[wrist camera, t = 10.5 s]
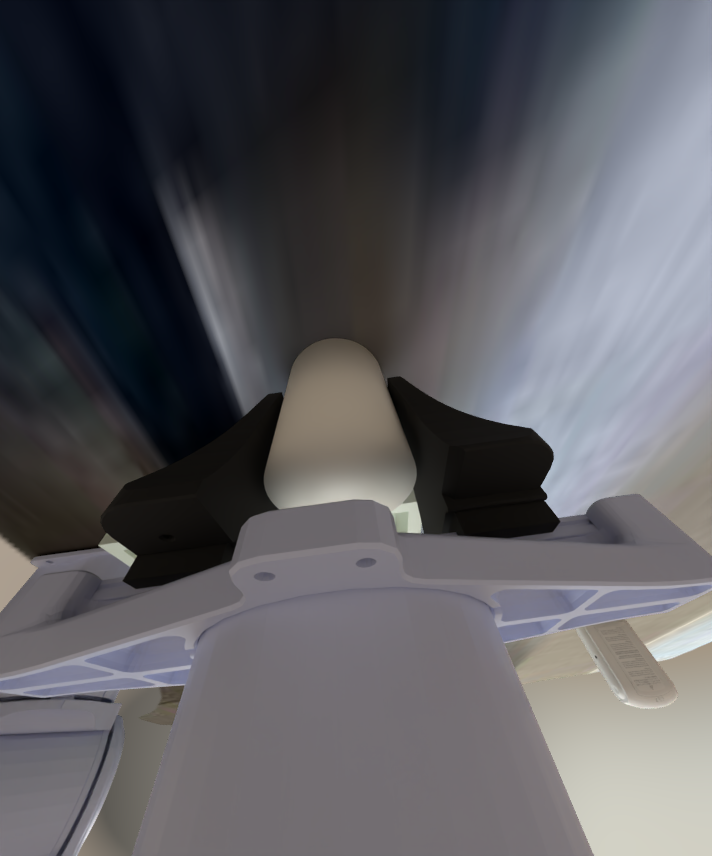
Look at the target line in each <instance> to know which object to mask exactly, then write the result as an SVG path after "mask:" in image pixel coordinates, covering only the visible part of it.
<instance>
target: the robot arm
mask: <svg viewBox="0 0 712 856" xmlns="http://www.w3.org/2000/svg"><path fill="white" fill-rule="evenodd" d="M387 380H388V390H389V393H390V396H391V399H392V401H393V404H394V407H395V409H396V412H397V415H398V418H399V420H400V423H401V426H402V428H403V431H404V434H405V436H406V439H407V442H408V445H409V447H410V450H411V453H412V455H413V458H414V461H415V464H416V469H417V477H416V482H415V485H414V488H413V490H414V494H415V497H416V501H417V505H418V509H419V513H420V518H421V522H422V526H423V530H424V534H421V533H403V532H397V530H396V525H395V521H394V517H393V515H392V513H391V511H390V509H389V507H387V506H385V505H382V504H380V503H378V502H375V501H373V500H360V499H353V500H345V501H338V502H331V503H323V504H316V505H309V506H301V507H294V508H286V509H278V508H277V507H276V506H275V505H274V504H273V503H272V501H271V500H270V498H269V497H268V495H267V493H266V490H265V486H264V473H265V468H266V464H267V461H268V457H269V453H270V449H271V445H272V441H273V438H274V434H275V430H276V426H277V422H278V418H279V415H280V411H281V407H282V403H283V399H284V398H283V395H282V392H281V393H273V394H268V395H267V396H266V397H265V398H264V399H262V400H261V401H260V402H259V403H258V404H257V405H256V406H255V407H254V408H253V409H252V410H251V411H250V412H249V413H248V414H246V415H245V416H244V417H243V418H242V419H241V420H240V421H238V422H237V423H236V424H235V425H234V426H233V427H231V428H230V429H229V430H228V431H226V432H225V433H224V434H222V435H221V436H219V437H218V438H217V439H215V440H214V441H212V442H211V443H209V444H207V445H206V446H204V447H202V448H201V449H199V450H197V451H196V452H194V453H192V454H191V455H189V456H187V457H185V458H183V459H181V460H179V461H177V462H175V463H173V464H171V465H169V466H167V467H165V468H163V469H161V470H158V471H156V472H154V473H151V474H149V475H146V476H144V477H142V478H139V479H137V480H134V481H132V482H129V483H127V484H125V485H124V487H123V488H122V489H121V491H120V492H119V493H118V495H117V496H116V497H115V498H114V500H113V501H112V502H111V504H110V505H109V506H108V508H107V509H106V510H105V512H104V513H103V514H102V515H101V525H102V527H103V529H104V530H105V532H106V533H107V534H108V535H109V536H111V537H112V538H113V539H114V540H116V541H117V542H119V543H120V544H121V545H123V546H124V547H126V548H127V549H128V550H130V551H131V552H132V553H134V554H135V555H137V557H136V558H135V560H134V562H133V564H132V565H131V567H130V566H128V565H127V564H125V563H124V562H122V561H121V560H119V559H118V558H116V557H115V556H113V555H112V554H110V553H109V552H107V551H106V550H104V549H103V548H96V549H89V550H81V551H74V552H67V553H59V554H52V555H45V556H37V557H34V558H33V560H32V561H31V564H32V565H34V566H36V567H39V568H38V569H37V570H36V571H35V573H34V574H33V575H32V576H31V577H30V578H29V580H28V581H27V582H26V583H25V584H24V585H23V587H22V588H21V589H20V590H19V591H18V592H17V594H16V595H15V596H14V597H13V598H12V600H11V601H10V602H9V603H8V604H7V606H6V607H5V608H4V609H3V610H2V611H1V612H0V856H77V855H78V853H79V851H80V848H81V846H82V844H83V842H84V841H85V839H86V837H87V836H88V834H89V832H90V830H91V828H92V826H93V824H94V822H95V820H96V818H97V816H98V814H99V812H100V810H101V807H102V805H103V803H104V801H105V799H106V796H107V793H108V791H109V789H110V786H111V784H112V781H113V778H114V776H115V773H116V770H117V767H118V764H119V760H120V757H121V753H122V749H123V744H124V738H125V730H124V727H123V719H122V717H121V716H119V715H117V714H118V712H119V710H120V707H121V705H122V704H121V703H114V701H115V699H116V697H117V695H118V692H119V690H123V689H135V688H150V687H164V686H178V685H185V687H184V690H183V693H182V697H181V700H180V703H179V706H178V709H177V713H176V716H175V719H174V722H173V725H172V729H171V732H170V735H169V738H168V742H167V745H166V748H165V751H164V754H163V758H162V760H161V764H160V767H159V770H158V773H157V776H156V780H155V783H154V786H153V790H152V793H151V796H150V799H149V802H148V805H147V808H146V812H145V815H144V819H143V821H142V824H141V828H140V831H139V834H138V837H137V840H136V844H135V847H134V850H133V853H132V856H594V855H593V853H592V850H591V848H590V846H589V843H588V841H587V839H586V836H585V834H584V831H583V830H582V827H581V825H580V822H579V819H578V817H577V815H576V812H575V810H574V808H573V805H572V803H571V800H570V798H569V796H568V793H567V791H566V789H565V786H564V784H563V782H562V779H561V777H560V774H559V772H558V770H557V767H556V765H555V763H554V760H553V758H552V755H551V753H550V751H549V749H548V746H547V744H546V741H545V739H544V737H543V734H542V732H541V729H540V727H539V725H538V723H537V720H536V718H535V715H534V713H533V711H532V708H531V706H530V703H529V701H528V699H527V696H526V694H525V692H524V689H523V687H522V684H521V682H520V680H519V677H518V675H517V673H516V670H515V668H514V666H513V663H512V661H511V658H510V656H509V654H508V651H507V649H506V647H505V644H504V643H508V642H513V641H518V640H522V639H527V638H532V637H537V636H542V635H546V634H551V633H556V632H561V631H565V630H570V629H575V628H580V627H585V626H590V625H595V624H600V623H605V622H611V621H616V620H622V619H628V618H634V617H640V616H647V615H653V614H660V613H667V612H669V611H671V610H673V609H675V608H677V607H679V606H681V605H684V604H686V603H688V602H690V601H692V600H694V599H696V598H698V597H700V596H702V595H704V594H706V593H708V592H710V591H712V556H711V555H710V554H709V553H708V552H706V551H705V550H704V549H703V548H702V547H701V546H699V545H698V544H697V543H696V542H695V541H694V540H692V539H691V538H690V537H689V536H688V535H687V534H685V533H684V532H683V531H682V530H681V529H680V528H678V527H677V526H676V525H675V524H674V523H673V522H671V521H670V520H669V519H668V518H667V517H666V516H664V515H663V514H662V513H661V512H660V511H659V510H657V509H656V508H655V507H654V506H653V505H652V504H650V503H649V502H648V501H647V500H646V499H645V498H643V497H642V496H641V495H640V494H631V495H623V496H616V497H609V498H604V499H600V500H598V501H596V502H594V503H593V504H592V505H591V506H590V507H589V509H588V510H587V512H586V514H585V515H577V516H570V517H563V518H558V517H557V516H556V515H555V514H554V512H553V511H552V510H551V509H550V507H549V506H548V505H547V503H546V502H545V501H544V500H546V499H547V494H546V493H545V492H544V491H543V489H542V488H541V487H540V486H541V484H542V483H543V481H544V479H545V477H546V475H547V473H548V472H549V470H550V468H551V465H552V462H553V460H554V455H553V451H552V449H551V447H550V446H549V445H548V444H547V443H546V442H545V441H544V440H543V439H542V438H541V437H540V436H539V435H538V434H537V433H536V432H535V431H534V430H533V429H531V428H525V427H519V426H514V425H508V424H502V423H498V422H494V421H490V420H486V419H482V418H479V417H476V416H473V415H470V414H467V413H464V412H461V411H458V410H456V409H454V408H451V407H449V406H447V405H445V404H443V403H441V402H439V401H437V400H435V399H434V398H432V397H430V396H428V395H427V394H425V393H424V392H422V391H420V390H419V389H417V388H416V387H415V386H413V385H412V384H410V383H409V382H408V381H406V380H405V379H403V378H402V377H400V376H399V377H392V378H387Z"/></svg>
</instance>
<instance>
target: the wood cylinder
mask: <svg viewBox="0 0 712 856" xmlns="http://www.w3.org/2000/svg"><path fill="white" fill-rule="evenodd" d="M416 477H417V469H416V464H415V461H414V458H413V455H412V453H411V450H410V447H409V445H408V442H407V439H406V436H405V434H404V431H403V428H402V426H401V423H400V420H399V418H398V415H397V412H396V409H395V407H394V404H393V401H392V399H391V396H390V393H389V390H388V388H387V385H386V382H385V380H384V377H383V374H382V371H381V369H380V366H379V364H378V362H377V360H376V359H375V357H374V356H373V355H372V353H371V352H370V351H369V350H367V349H366V348H365V347H363V346H362V345H360V344H358V343H356V342H354V341H351V340H347V339H341V338H330V339H325V340H321V341H318V342H315V343H313V344H311V345H310V346H308V347H307V348H305V349H304V350H303V351H302V352H301V353H300V354H299V355H298V357H297V358H296V360H295V362H294V363H293V366H292V369H291V372H290V376H289V380H288V384H287V388H286V392H285V395H284V399H283V403H282V407H281V411H280V415H279V418H278V422H277V426H276V430H275V434H274V438H273V441H272V445H271V449H270V453H269V457H268V461H267V464H266V468H265V473H264V486H265V490H266V493H267V495H268V497H269V498H270V500H271V501H272V503H273V504H274V505H275V506H276V507H277V508H278V509H286V508H294V507H301V506H309V505H316V504H323V503H331V502H338V501H345V500H353V499H360V500H373V501H375V502H378V503H380V504H382V505H385V506H387V507H389V509H390V511H393V510H394V509H396V508H397V507H398V506H400V505H401V504H402V503H403V502H404V501H405V500H406V499H407V497H408V496H409V495H410V493H411V491H412V490H413V488H414V485H415V482H416Z"/></svg>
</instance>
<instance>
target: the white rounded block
mask: <svg viewBox="0 0 712 856" xmlns="http://www.w3.org/2000/svg"><path fill="white" fill-rule="evenodd" d="M575 630H576V632H577V634H578V636H579V637H580V639H581V641H582V642H583V644H584V646H585V647H586V649H587V651H588V652H589V654H590V656H591V657H592V659H593V661H594V662H595V664H596V665H597V667H598V669H599V670H600V672H601V674H602V675H603V677H604V679H605V680H606V682H607V683H608V685H609V687H610V689H611V690H612V692H613V693H614V694H615V696H616V697H617V698H618V699H619V700H620V701H621V702H622V703H624V704H627V705H630V706H633V707H637V708H645V709H654V708H661V707H665V706H668V705H670V704H671V703H673V702H674V701H675V700H676V699H677V698H678V692H677V690H676V688H675V686H674V684H673V682H672V681H671V680H670V678H669V677H668V676H667V674H666V673H665V672H664V670H663V669H662V668H661V666H660V665H659V664H658V662H657V661H656V660H655V658H654V657H653V656H652V654H651V653H650V652H649V650H648V649H647V648H646V646H645V645H644V644H643V642H642V641H641V640H640V638H639V637H638V635H637V634H636V633H635V631H634V630H633V629H632V627H631V626H630V625H629V623H628V622H627V621H626V620H625V619H622V620H616V621H611V622H605V623H600V624H595V625H590V626H585V627H580V628H575Z"/></svg>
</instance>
